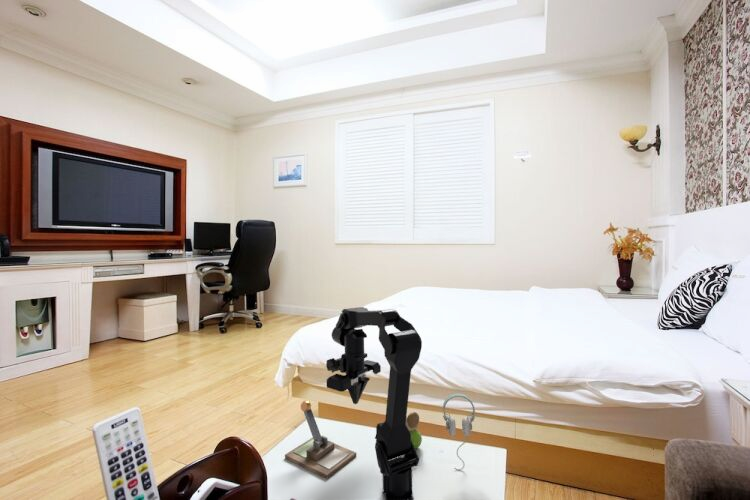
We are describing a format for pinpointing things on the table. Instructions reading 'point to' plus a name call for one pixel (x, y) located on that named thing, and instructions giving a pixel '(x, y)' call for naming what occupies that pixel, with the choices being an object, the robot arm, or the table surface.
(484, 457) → the table surface
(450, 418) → the headphones
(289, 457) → the switch base
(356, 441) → the table surface
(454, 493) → the table surface
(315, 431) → the toggle lever
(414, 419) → the snail figurine
